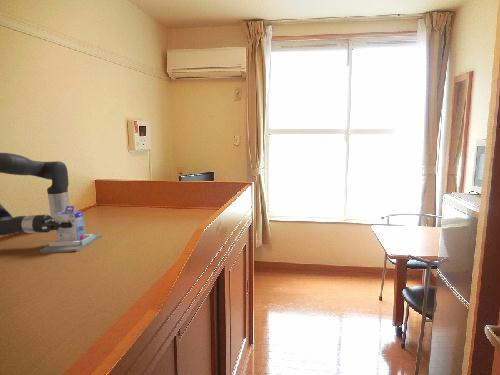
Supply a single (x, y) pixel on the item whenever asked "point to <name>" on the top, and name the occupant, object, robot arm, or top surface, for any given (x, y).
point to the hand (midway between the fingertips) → (75, 222)
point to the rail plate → (70, 244)
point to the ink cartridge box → (77, 225)
